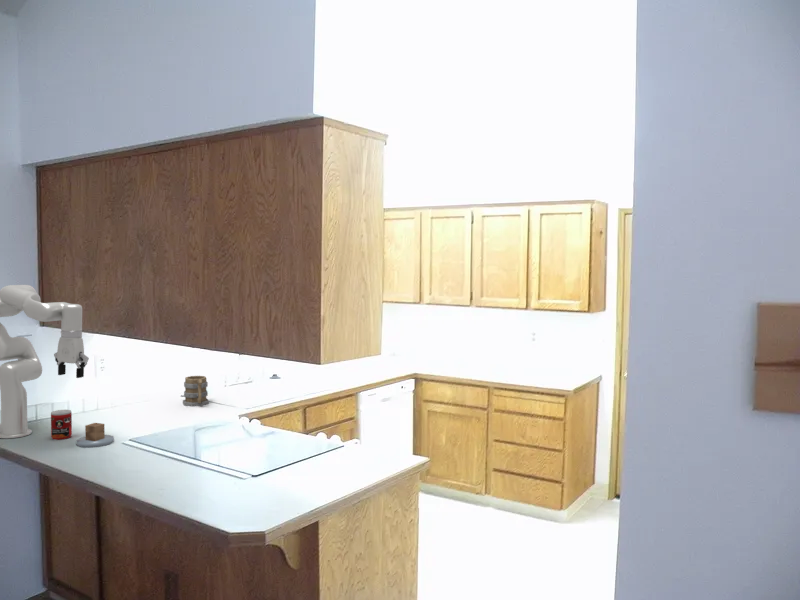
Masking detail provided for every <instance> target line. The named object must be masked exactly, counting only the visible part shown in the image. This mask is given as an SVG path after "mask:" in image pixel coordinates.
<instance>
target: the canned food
mask: <svg viewBox="0 0 800 600" xmlns="http://www.w3.org/2000/svg"><path fill="white" fill-rule="evenodd" d="M72 414H73V413H72V409H57V410H53V411H51V413H50V437H51V439H52V440H53V441H55V440H56V441H58V440H59V441H61V440H67V439H69V438H72V435H73V434H72V433H73V431H72V425H73V421H72V417H73V415H72Z"/></svg>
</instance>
